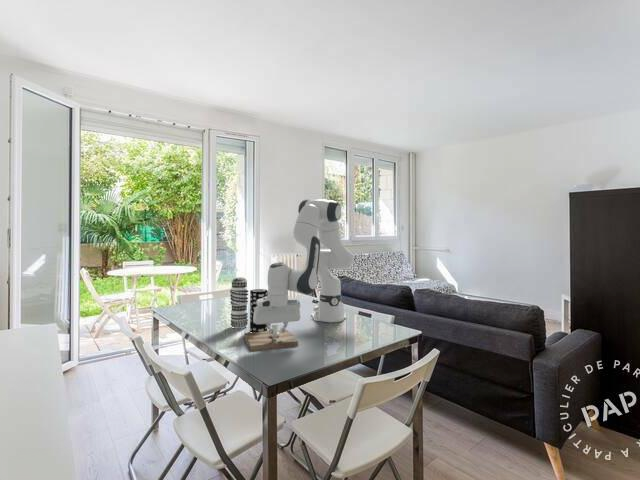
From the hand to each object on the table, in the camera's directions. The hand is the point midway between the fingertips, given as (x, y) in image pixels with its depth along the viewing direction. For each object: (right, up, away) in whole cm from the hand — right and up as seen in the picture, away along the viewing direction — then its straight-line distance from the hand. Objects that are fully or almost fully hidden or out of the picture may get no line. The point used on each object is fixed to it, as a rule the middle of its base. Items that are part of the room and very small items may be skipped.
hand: (276, 332), depth 150 cm
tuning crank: (-1, -3, +3) cm, 4 cm away
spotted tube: (-11, -5, +20) cm, 24 cm away
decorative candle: (-23, -5, +28) cm, 36 cm away
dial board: (-4, -5, +4) cm, 8 cm away
